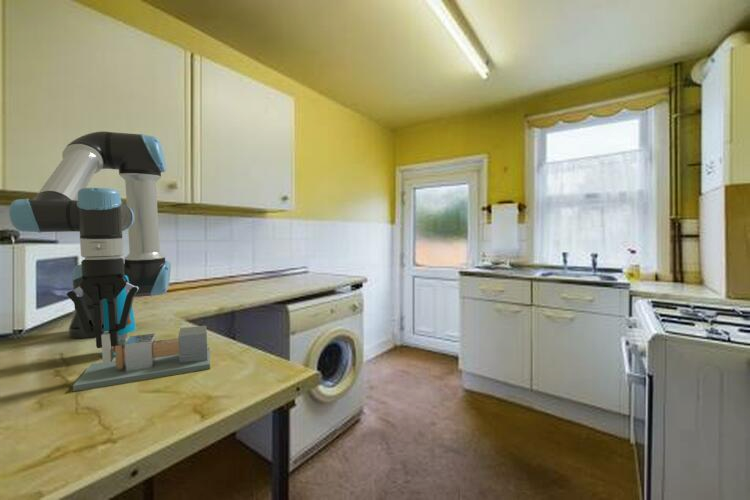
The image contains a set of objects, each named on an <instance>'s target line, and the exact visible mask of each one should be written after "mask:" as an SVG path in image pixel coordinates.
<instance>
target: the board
mask: <svg viewBox="0 0 750 500" xmlns="http://www.w3.org/2000/svg"><path fill="white" fill-rule="evenodd" d="M210 355H211V353H210V347H208V346H207V361H200V362H194V363H188V364H181V365H179V355H172V356H165V357H158V358H156V360H155V363H154V365H153V368H151V369H144V370H138V371H131V372H126V364H125V365H124V367H123V368H122V369H116V360H112V361H111V362H109V363H103V361H101V362H95V363H91V364H90V365H89V366H88V368H87V369H86V370H85V371H84V372H83V373H82V375H81V376H79V378H78V379H77V381H75V383H73V385H72V391H73V392H78V391H84V390H90V389H97V388H103V387H107V386H108V387H109V386H113V385H121V384H126V383H127V384H128V383H133V382H139V381H144V380H150V379H156V378H163V377H169V376H174V375H181V374H186V373H192V372H198V371H203V370H204V371H205V370H210V369H211V357H210Z"/></svg>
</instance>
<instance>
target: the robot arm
mask: <svg viewBox="0 0 750 500" xmlns="http://www.w3.org/2000/svg"><path fill="white" fill-rule="evenodd" d="M61 154H62V155H61V156H62V159H61V161H60V162H59V164H58V165H57V167H55V169H54V171H53V172H52V174H51V175H50V176H49V177H48V179H47V180H46V181H45V183H44V185H42V187H41V188H40V190H39V191H38V192H37V194H36V195H35V196H34V198H32V199H31V198H24V199H23V198H22V199H21V198H20V199H19V198H17V199H15V200H13V201H12V202H11V204H10V206H9V211H8V214H9V215H8V217H9V219H10V222H11V224H12V226H13V227H14V228H15V229H16V230H18V231H19V232H29V233H31V232H33V233H63V232H64V233H66V232H68V233H69V232H71V233H72V232H75V233H76V232H77V233H78V232H79V245H80V246H79V247H80V257H81V258H84V259H82V261H80V263H79V264H77V265H76V266H74V267H73V269H72V279H71V281H72V286H73V290H70V291H68V292H67V293H66V296H67V297H68V298H69V299H70V300H71V301H72V302H73V304H74V313H73V315H72V318H71V320H70V324H69V327H68V337H70V338H75V339H85V338H86V339H87V338H95V346H96V348H97V349H101V353H102V356H101V357H102V362H103V363H109V362H111V361H114V359H115V357H114V351H113V346H116V345H117V343H118V331H119V330H121V329H124V328H125V327H126V326H127V324H128V320H129V315H130V311H131V307H133V303H134V299H135V298H140V297H150V298H151V297H154V296H162V295H164V294H166V292H167V291H168V290H169V286H170V279H171V270H172V269H171V266H172V265H171V262H170V261H168V260H166V256H165V255H164V254H163V253H162V252H161V250H160V248H161V247H160V233H159V229H160V228H159V214H158V210H159V209H158V196H157V195H158V193H157V181H158V182H159V180H160V179H161V178H162V173H165V172H166V171H167V168H166V165H167V164H166V159H165V153H164V149H163V147H162V144H161V141H160V140H159V138H158V137H156V136H154V135H147V134H142V133H141V134H140V133H125V132H116V131H115V132H112V131H95V132H90V133H87V134H84V135H81V136H80V137H77V138H75V139H73V140H72V141H71V142H69V143H68V144H67V145H66V146H65V148H64V149H63V151H62V153H61ZM106 169H107V170H118V176H119V177H121V178H122V179H123V180H124V182H125V199H126V200H125V201H126V203H124V202H122V200H121V199H122V198H121V193H120V191H118V190H117V189H113V188H105V187H88V185H89V183H90V182H91V179H92V178H93V176H94V174H97V173H99V172H100V171H101V170H106ZM125 230H128V233H127V234H128V235H127V236H128V248H129V249H128V250H129V253H128V254H127V255H126V256H124V240H123V239H124V238H123V232H124V231H125ZM122 256H124V258H123V257H122ZM125 275H127V276H128V280H129V283H128V281H127V279H126V278H125ZM124 287H125V288H126V291H125V292H126V293H127V296H126V299H125V303H124V307H123V311H122V315H121V320H120V324H118V314H117V296H118V295H119V294H120V293H121V291H122V290H123V289H124ZM104 299H107V303H108V318H109V331H106V332H104V330H105V328H104V310H103V301H104Z"/></svg>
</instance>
